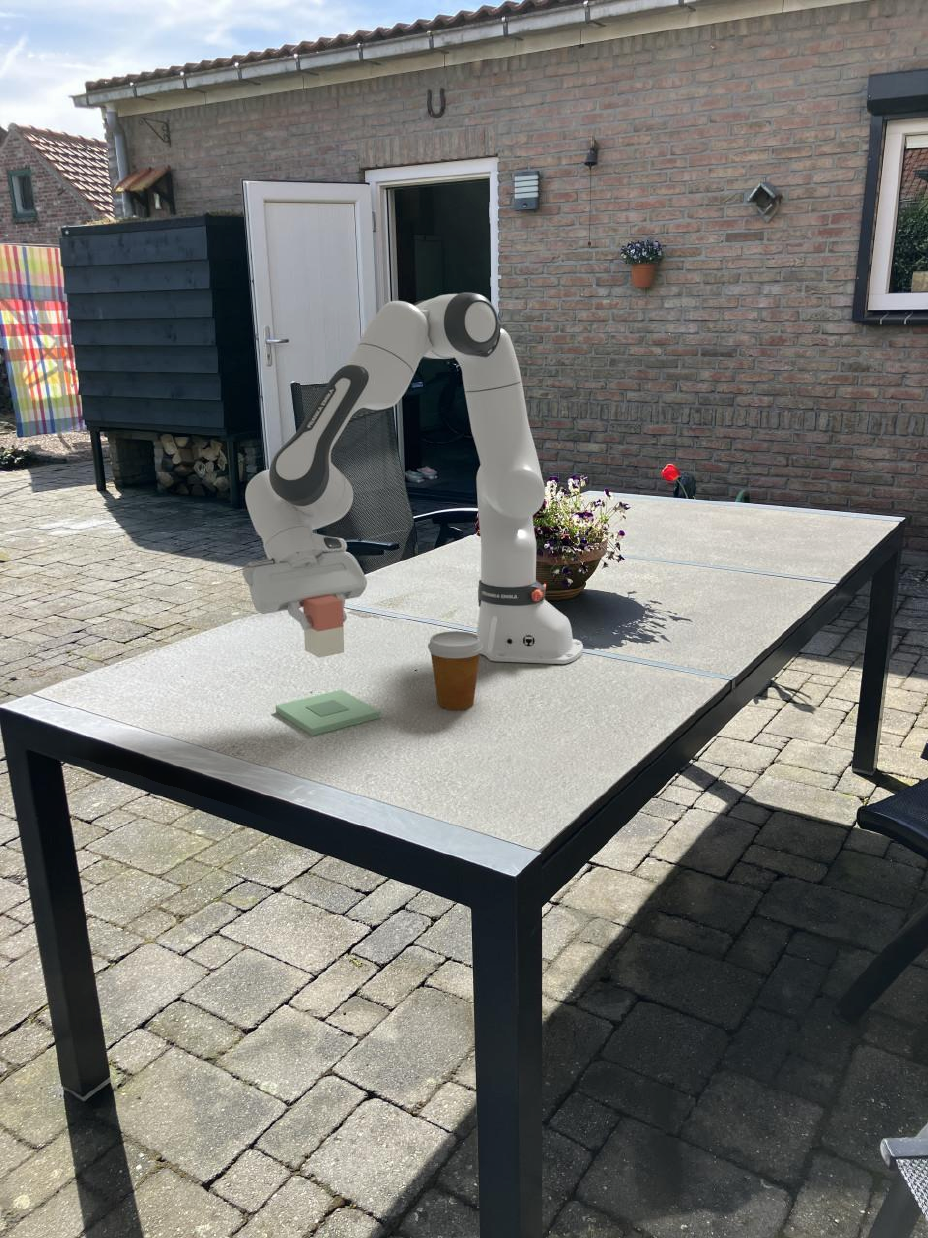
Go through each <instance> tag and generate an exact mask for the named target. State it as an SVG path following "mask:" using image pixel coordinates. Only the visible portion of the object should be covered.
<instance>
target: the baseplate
mask: <svg viewBox="0 0 928 1238" xmlns="http://www.w3.org/2000/svg"><path fill="white" fill-rule="evenodd" d="M275 713H277V714H279V715H280V716H281V717H283V718H285V719H286V720H287V721H289V722H290V723H292V724H294V725H295V726H297V727H298V728H299V729H302V730H303V731H304V732H306V733H307V734H309V735H310V736H312V737H314V736H317V735H318V736H319V735H321V734H326V733H328V732H332V731H333V732H334V731H336V730H337V731H338V730H340V729H344V728H348V727H351V726H352V727H353V726H355V725H358V724H362V723H366V722H367V723H368V722H371V721H373V720H378V719H381V711H380V710H379V709H377V708H375V707H373V706H371V705H369V704H368V703H366V702H364V701H362V700H360V699H359V698H357V697H355V696H354V695H351V694H350V693H348V692H347V691H344V690H343V689H339V690H335V691H334V690H333V691H330V692H327V693H321V694H318V695H313V696H310V697H306V698H301V699H297V700H292V701H289V702H284V703H280V704H276V705H275Z"/></svg>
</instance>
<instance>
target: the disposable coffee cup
mask: <svg viewBox="0 0 928 1238" xmlns="http://www.w3.org/2000/svg"><path fill="white" fill-rule="evenodd" d="M429 640H430V641H429V643H428V645H427V649H428V650H429V653H430V658H431V664H432V670H433V671H432V672H433V677H434V684H435V685H434V687H435V691H436V698H437V699H436V700H437V705H438V707H440V708H442V709H445V710H452V711H458V710H465V709H469V708H471V707H472V706H473V705H474V703H475V702H474V701H475V693H476V686H477V680H478V679H477V678H478V671H479V663H480V657H481V654H480V652H481V649H482V648H483V644H482V643H481V640H480V637H479V636H478V635H476V633H472V632H467V631H459V630H458V631H444V632H443V631H442V632H439V633H435V634H434V635H432V636H431V637H430V639H429Z"/></svg>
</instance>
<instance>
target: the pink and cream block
mask: <svg viewBox="0 0 928 1238" xmlns="http://www.w3.org/2000/svg"><path fill="white" fill-rule="evenodd" d="M302 610H303V611H302V612H303V613H304V614H305V615H306V616H308V615H311V617H312V620H313V622H314V626H313V627H312V628H311V629H306V630H303V635H304V637H303V638H304V651H306V652H308V653H309V654H311V655H313V656H315V657H317V658H323V657H324V658H325V657H330V656H333V655H337V654H342V653H345V633H344V630H345V629H344V626H345V625H344V622H343V600H340V599H338V598H336V597H333V596H331V595H327V596H322V597H316V598H310V599H305V600H303V607H302Z"/></svg>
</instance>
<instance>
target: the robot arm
mask: <svg viewBox="0 0 928 1238" xmlns="http://www.w3.org/2000/svg"><path fill="white" fill-rule="evenodd" d="M499 320H500V318H499V316H498V313H497V311H496V309H495V307H494V305H493V303H492V302H491V301H490V300H489V299H488V298H487V297H485V296H484V295H482V294H479V293H475V292H465V291H464V292H460V293H448V294H440V295H438V296H436V297H433V298H430V299H427V300H419V301H416V302H414V303H413V304H412V303H409V302H407V301H403V300H391V301H388V302H387V303H385V304H384V305H383V306H382V307H380V310H379V311H378V312H377V313H376V314H375V316H374V318H372V320H371V322H370V323H369V325H368V326H367V327H366V329H365V331H364V332H363V334H362V336H361V338H360V339H359V341H358V344H357V346H356V348H355V350H354V352H353V353H352V354H351V357H350V358H349V360H348V361H347V363H346V364H345V365H344V366H342V367H341V368H339V370H337V371H336V372H335V373H334V374H333V376H332V377H331V378H330V379H329V381H328V382H327V384H326V385H325V387H324V388H323V390H322V392H321V393H320V394H319V396H318V398H317V399H316V401H315V402H314V404H313V406H312V408H311V409H310V410H309V412H308V414H307V415H306V417H305V418H304V420H303V422H302V424H301V425H300V427H299V428H298V429H297V431H296V432H295V433H294V435H292V437H291V438H290V439H289V440H288V441H287V442H285V444H284V445H282V447H281V448H280V449H278V451H277V452H276V454H275V455H274V456H273V459H272V460H271V463H270V467H269V469H266V470H262V471H261V472H259V473H257V474H256V475H255V476H253V477H252V478H251V479H250V481H249V482H248V484H247V485H246V489H245V498H244V499H245V503H246V504H245V505H246V507H247V511H248V514H249V516H250V520H251V522H252V525H253V527H254V529H255V532H256V533H257V534H258V536H260V538H261V540H262V542H263V549H264V553H265V555H266V557H267V559H263V560H259V561H250V562H247V565H245V566H244V567H243V568H242V577H243V579H244V581H245V582H246V584H247V585H248V587H249V593H250V596H251V600H252V604H253V606H254V609H255V611H256V612H258V614H259V613H260V614H261V615H268V614H272V613H278V612H282V611H284V612H285V611H287V613H288V615H289V616H290V617H292V618H293V619H294V620H296V621H297V622H298V623H299V624H300V626H301V628H302V631H304V630H306V629H311V628H312V627H313V626H314V622H313V620H312V617H311V615H308V616H306V615H305V614H304V613H303V611H302V610H301V609H300V608H303V600H305V599H310V598H316V597H322V596H327V595H331V596H333V597H336V598H338V599H340V600H343V623H345V622H346V621H347V619H348V617H347V613H346V612H345V604H346V600H350V599H357V598H360V597H361V596H362V595H363V593H364V592H365V590H366V588H367V586H368V580H367V577H366V576H365V573H364V571H363V569H362V568H361V566H360V563H359V562H358V560H357V559H356V557H355V556H354V555H353V554H351V553H350V552H348V551H346V550H347V549H348V545H347V542H346V541H345V539H344V538H341V537H335V536H329V535H324V534H319V533H314V531H316V530H320V529H322V528H324V527H325V528H326V527H327V526H330V525H332V524H334V523H337V522H338V521H340V520H342V519H343V518H345V516H347V515H348V513H349V512H350V510H351V509H352V506H353V504H354V499H355V498H354V497H355V492H354V488H353V485H352V483H351V482H350V481H349V480H348V478H347V477H346V476H345V474H343V473H342V472H341V470H339V468H338V467H336V466H335V465H334V464H333V462H332V458H331V457H332V456H331V455H332V454H331V453H332V451H333V450H332V449H334V448H333V447H334V446H335V444H336V443H337V441H338V439H340V438H339V437H340V436H341V434H342V432H343V431H344V429H345V428H346V426H347V424H348V423H349V421H350V419H351V418H352V416H353V415H354V414H355V413H356V412H357V411H359V410H361V409H364V408H365V409H369V410H372V411H379V410H385V409H389V408H391V407H393V406H395V405H397V404H398V403H399V401H400V400H401V398H402V397H403V396H404V395H405V393H406V392H407V390H408V387H409V386H410V384H411V381H412V379H413V378H414V375H415V374H416V371H417V368H418V367H419V363H421V360H434V359H436V360H437V359H439V360H440V359H441V360H446V359H447V360H449V359H454V358H455V360H456V361H457V363H458V365H459V366H460V369H461V373H462V374H461V376H462V382H463V389H464V390H463V391H464V395H465V396H464V397H465V401H466V406H467V412H468V413H467V414H468V418H469V424H470V429H471V431H470V432H471V435H472V437H473V441H474V444H475V447H476V452H477V455H478V460H479V464H480V466H479V468H478V470H477V472H476V473H477V474H476V492H477V493H476V495H477V498H476V499H477V512H478V523H479V533H480V534H479V535H480V579H479V580H478V586H477V587H478V588H477V601H478V607H479V613H478V614H479V615H478V621H477V628H476V633H475V634H476V635H478V636H479V637H480V640H481V643H482V644H483V648H482V649H481V652H480V655H483V656H485V657H486V658H487V659H488V660H489V661H492V662H502V663H504V662H505V663H526V664H527V663H529V664H549V665H553V664H554V665H555V664H556V665H565V664H569V663H573V662H575V661H576V660H578V659H579V657H581V655H582V654H583V651H584V645H583V642H582V641H581V640H579V639H576V638H573V631H572V626H571V625H572V624H571V622H570V620H569V618H568V617H567V616H566V615H565V614H563V613H562V612H560V611H559V610H558V609H557V608H556V607H554V605H552V604H551V603H550V602H548V600H546V589H547V588H546V587H547V584H546V583H544V584H542V583H540V582H539V581H538V580H537V579H536V577H537V575H536V574H537V573H536V572H537V539H536V535H535V527H534V517H533V516H534V515H535V514H536V513H537V512H538V511H539V510H540V509H541V508H542V506H543V504H544V501H545V498H546V487H545V483H544V480H543V475H542V470H541V466H540V462H539V457H538V453H537V449H536V446H535V445H536V444H535V441H534V438H533V434H532V432H531V427H530V423H529V417H528V410H527V405H526V398H525V394H524V387H523V381H522V376H521V375H522V374H521V370H520V369H521V368H520V366H519V365H520V364H519V360H518V358H517V354H516V351H515V346H514V345H513V341H512V339H511V336H510V335H509V333H508V331H507V330H505V329H504V328H502V326H501V324H500V321H499Z"/></svg>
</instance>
